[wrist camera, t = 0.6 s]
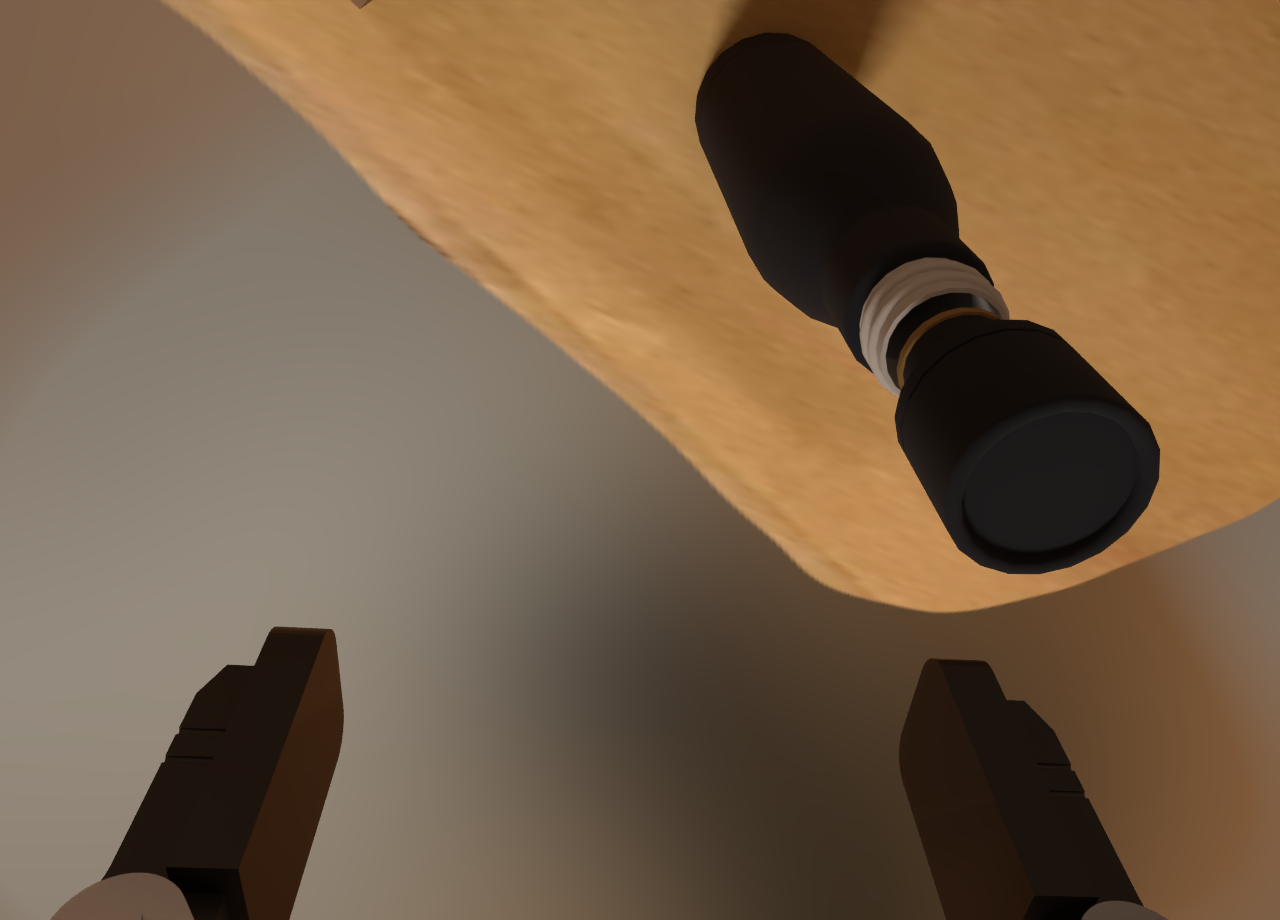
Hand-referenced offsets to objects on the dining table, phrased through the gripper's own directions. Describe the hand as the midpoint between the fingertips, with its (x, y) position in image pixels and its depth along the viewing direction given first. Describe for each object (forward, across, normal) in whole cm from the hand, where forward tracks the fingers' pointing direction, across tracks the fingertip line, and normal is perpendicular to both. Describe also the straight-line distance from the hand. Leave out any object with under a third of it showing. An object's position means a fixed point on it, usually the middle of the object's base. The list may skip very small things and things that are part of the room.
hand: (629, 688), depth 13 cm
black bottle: (+35, -7, -1) cm, 35 cm away
